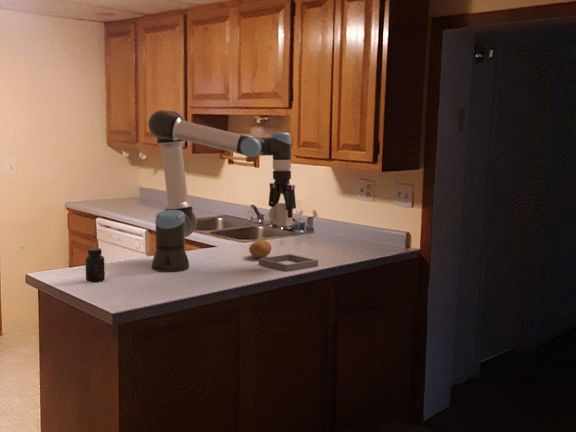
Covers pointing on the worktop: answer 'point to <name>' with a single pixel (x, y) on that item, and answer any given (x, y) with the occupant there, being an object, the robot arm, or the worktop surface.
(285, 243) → the worktop surface
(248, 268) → the worktop surface
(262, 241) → the potato
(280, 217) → the cup
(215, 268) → the worktop surface
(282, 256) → the tray
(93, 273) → the supplement bottle
